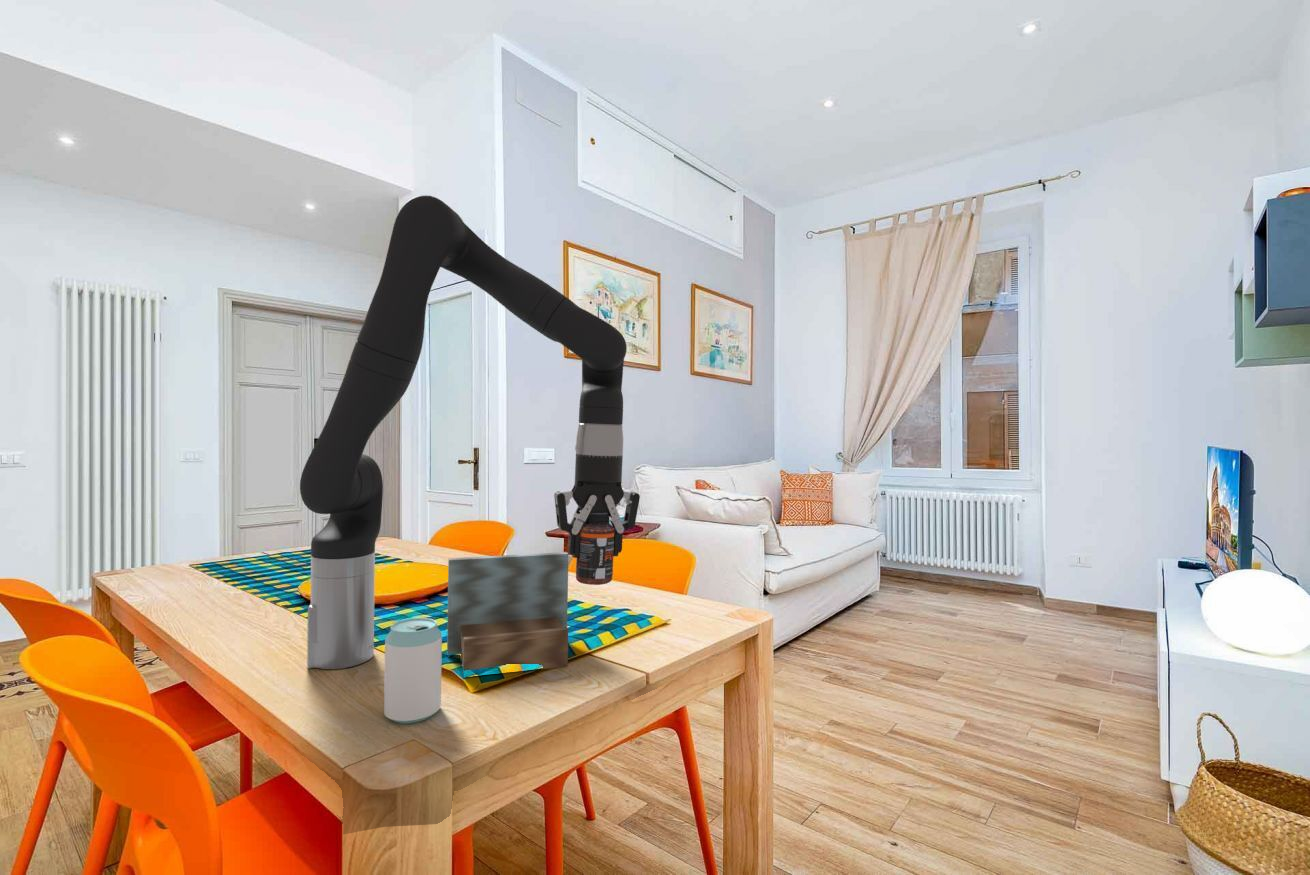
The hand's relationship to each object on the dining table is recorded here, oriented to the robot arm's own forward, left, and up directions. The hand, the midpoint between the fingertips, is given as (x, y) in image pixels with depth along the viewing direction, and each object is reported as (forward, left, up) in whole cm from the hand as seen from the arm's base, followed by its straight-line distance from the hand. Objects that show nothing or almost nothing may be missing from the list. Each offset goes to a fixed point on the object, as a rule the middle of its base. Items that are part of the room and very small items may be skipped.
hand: (595, 555), depth 100 cm
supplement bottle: (0, 0, -4) cm, 4 cm away
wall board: (-12, +6, -18) cm, 22 cm away
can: (-27, -9, -18) cm, 34 cm away
